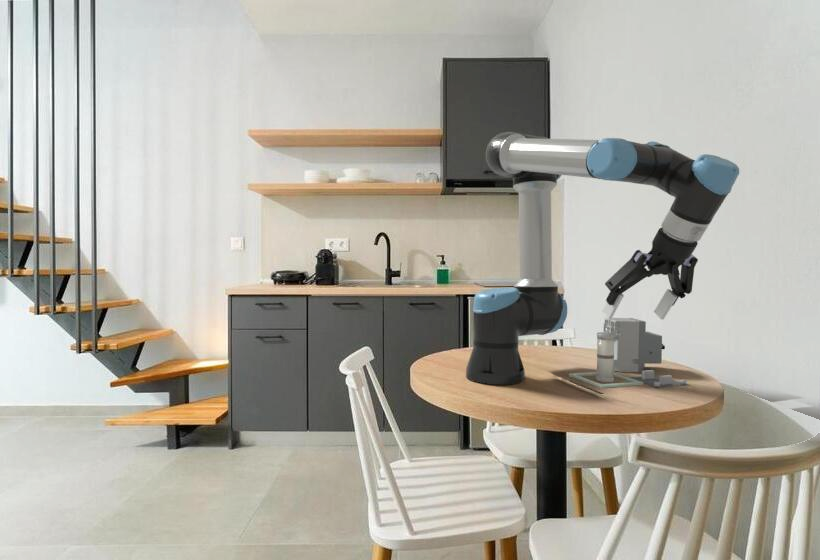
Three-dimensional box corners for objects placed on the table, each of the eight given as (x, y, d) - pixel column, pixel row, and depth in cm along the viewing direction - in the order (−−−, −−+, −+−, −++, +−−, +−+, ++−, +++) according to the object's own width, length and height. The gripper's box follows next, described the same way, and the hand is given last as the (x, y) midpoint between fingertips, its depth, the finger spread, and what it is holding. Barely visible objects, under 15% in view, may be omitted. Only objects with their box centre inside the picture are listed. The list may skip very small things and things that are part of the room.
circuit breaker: (667, 377, 125) (669, 321, 124) (613, 377, 125) (614, 321, 124) (653, 371, 132) (654, 318, 132) (602, 370, 132) (603, 317, 132)
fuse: (603, 384, 113) (604, 334, 113) (592, 380, 117) (593, 332, 116) (617, 383, 114) (618, 334, 114) (606, 379, 118) (606, 332, 118)
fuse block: (656, 394, 108) (656, 379, 108) (624, 383, 118) (625, 369, 118) (690, 391, 111) (690, 376, 111) (656, 381, 121) (657, 367, 121)
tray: (601, 394, 108) (601, 385, 108) (568, 381, 119) (569, 373, 119) (643, 390, 112) (643, 382, 111) (607, 378, 123) (608, 371, 123)
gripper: (636, 241, 87) (592, 326, 100) (743, 247, 93) (689, 326, 106) (615, 221, 93) (576, 303, 106) (717, 228, 99) (669, 305, 111)
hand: (633, 315), depth 106 cm, fingers open, 13 cm apart
